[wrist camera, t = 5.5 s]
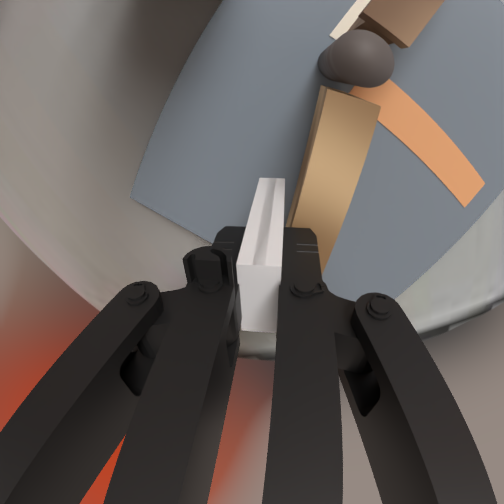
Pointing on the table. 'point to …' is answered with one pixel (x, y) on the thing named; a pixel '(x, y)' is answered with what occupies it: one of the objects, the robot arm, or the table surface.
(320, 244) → the wooden board
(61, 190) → the table surface
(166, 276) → the table surface
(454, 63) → the card
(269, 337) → the table surface
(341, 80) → the base
